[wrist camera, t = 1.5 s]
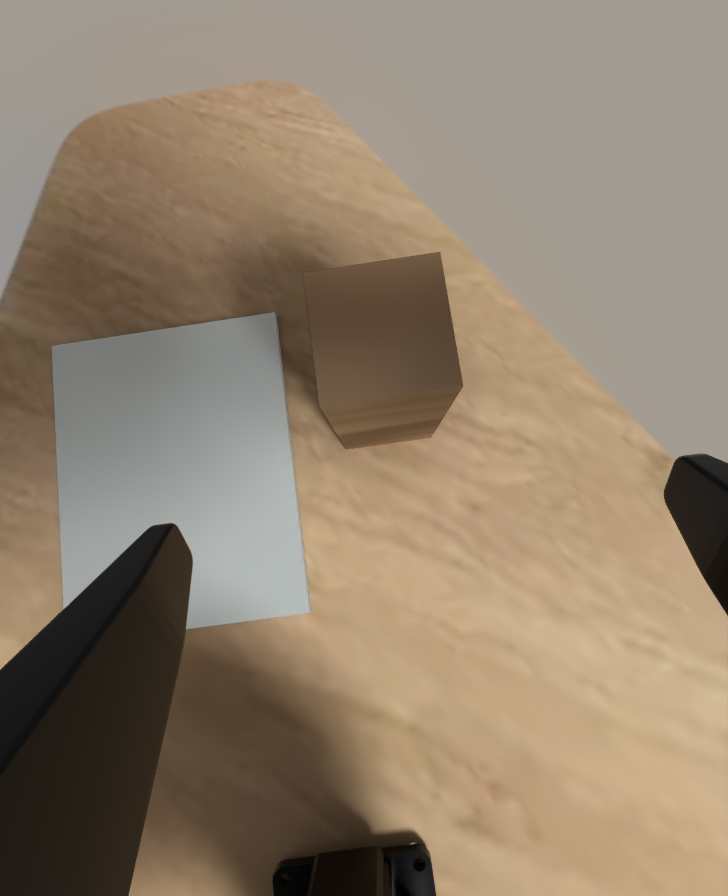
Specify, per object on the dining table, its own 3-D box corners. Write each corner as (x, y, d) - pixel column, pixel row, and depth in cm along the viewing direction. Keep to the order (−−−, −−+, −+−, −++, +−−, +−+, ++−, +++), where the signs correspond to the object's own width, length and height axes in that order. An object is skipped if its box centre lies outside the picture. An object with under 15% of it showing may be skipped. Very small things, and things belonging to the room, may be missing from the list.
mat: (311, 610, 21) (309, 612, 20) (72, 642, 21) (64, 645, 21) (276, 316, 23) (274, 312, 22) (58, 349, 23) (51, 345, 23)
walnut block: (430, 437, 22) (463, 386, 13) (346, 449, 22) (319, 406, 13) (417, 355, 22) (440, 251, 13) (335, 367, 22) (302, 272, 13)
